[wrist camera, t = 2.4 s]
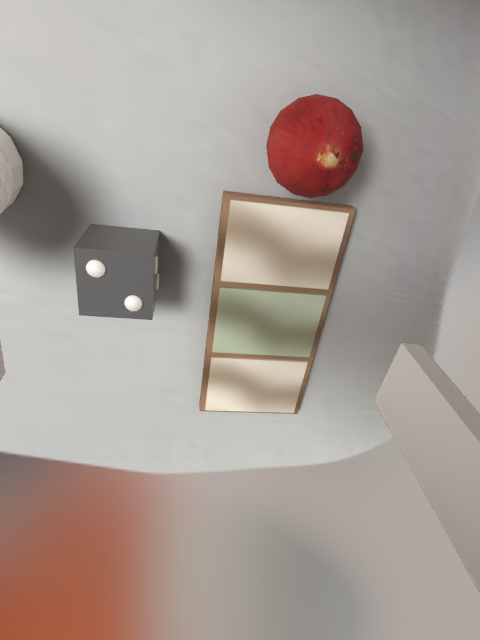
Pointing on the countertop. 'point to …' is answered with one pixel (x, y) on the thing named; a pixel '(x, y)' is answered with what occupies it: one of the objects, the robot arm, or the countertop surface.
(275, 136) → the onion
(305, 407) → the countertop surface
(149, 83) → the countertop surface
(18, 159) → the white cup
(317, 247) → the board
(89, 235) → the die
